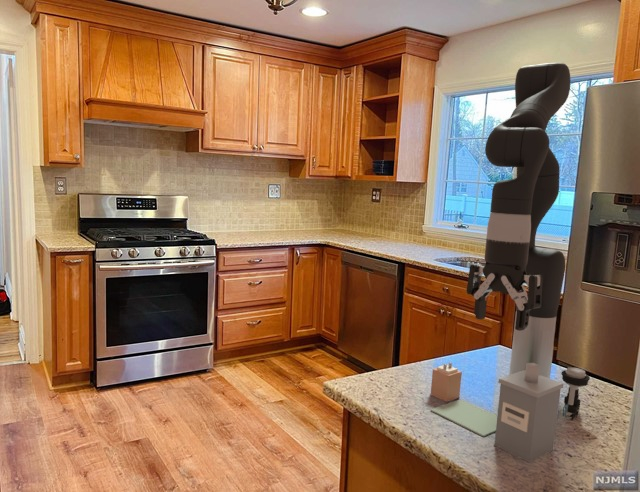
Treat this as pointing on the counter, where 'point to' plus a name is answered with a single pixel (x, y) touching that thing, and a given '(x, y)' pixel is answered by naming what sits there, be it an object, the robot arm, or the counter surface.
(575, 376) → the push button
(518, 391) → the box
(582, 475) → the counter surface
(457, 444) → the counter surface
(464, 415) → the pad
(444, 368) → the block
